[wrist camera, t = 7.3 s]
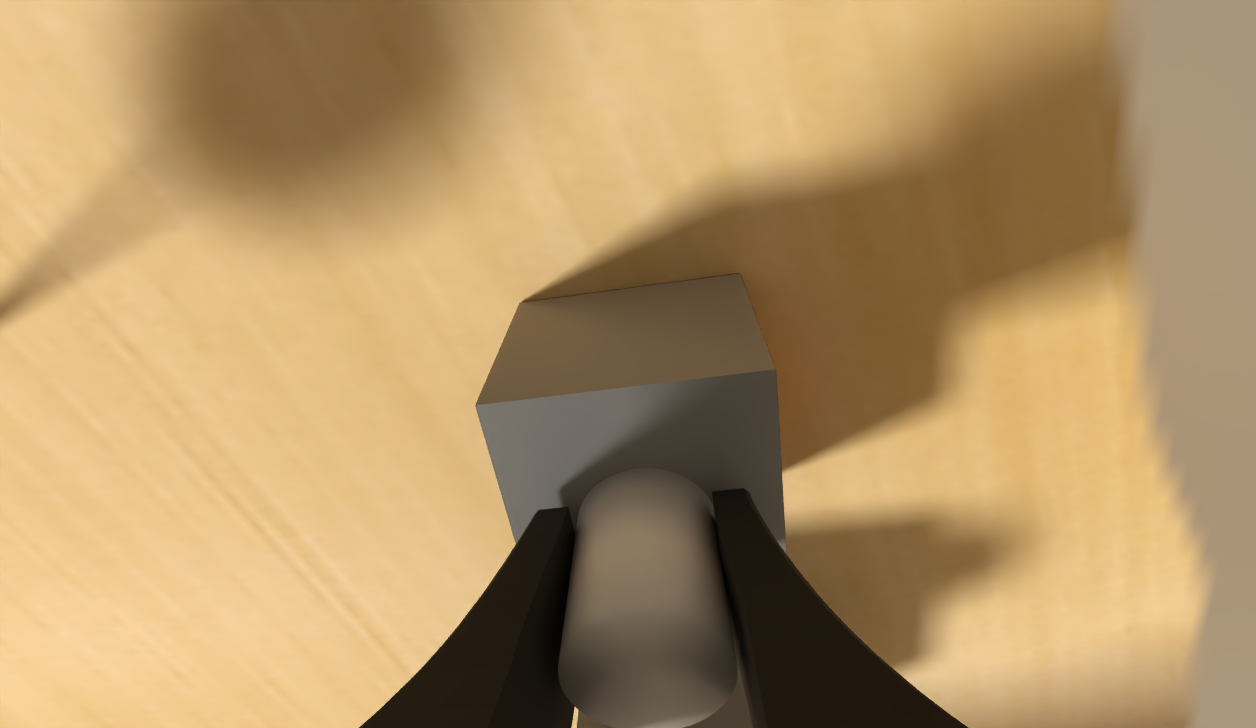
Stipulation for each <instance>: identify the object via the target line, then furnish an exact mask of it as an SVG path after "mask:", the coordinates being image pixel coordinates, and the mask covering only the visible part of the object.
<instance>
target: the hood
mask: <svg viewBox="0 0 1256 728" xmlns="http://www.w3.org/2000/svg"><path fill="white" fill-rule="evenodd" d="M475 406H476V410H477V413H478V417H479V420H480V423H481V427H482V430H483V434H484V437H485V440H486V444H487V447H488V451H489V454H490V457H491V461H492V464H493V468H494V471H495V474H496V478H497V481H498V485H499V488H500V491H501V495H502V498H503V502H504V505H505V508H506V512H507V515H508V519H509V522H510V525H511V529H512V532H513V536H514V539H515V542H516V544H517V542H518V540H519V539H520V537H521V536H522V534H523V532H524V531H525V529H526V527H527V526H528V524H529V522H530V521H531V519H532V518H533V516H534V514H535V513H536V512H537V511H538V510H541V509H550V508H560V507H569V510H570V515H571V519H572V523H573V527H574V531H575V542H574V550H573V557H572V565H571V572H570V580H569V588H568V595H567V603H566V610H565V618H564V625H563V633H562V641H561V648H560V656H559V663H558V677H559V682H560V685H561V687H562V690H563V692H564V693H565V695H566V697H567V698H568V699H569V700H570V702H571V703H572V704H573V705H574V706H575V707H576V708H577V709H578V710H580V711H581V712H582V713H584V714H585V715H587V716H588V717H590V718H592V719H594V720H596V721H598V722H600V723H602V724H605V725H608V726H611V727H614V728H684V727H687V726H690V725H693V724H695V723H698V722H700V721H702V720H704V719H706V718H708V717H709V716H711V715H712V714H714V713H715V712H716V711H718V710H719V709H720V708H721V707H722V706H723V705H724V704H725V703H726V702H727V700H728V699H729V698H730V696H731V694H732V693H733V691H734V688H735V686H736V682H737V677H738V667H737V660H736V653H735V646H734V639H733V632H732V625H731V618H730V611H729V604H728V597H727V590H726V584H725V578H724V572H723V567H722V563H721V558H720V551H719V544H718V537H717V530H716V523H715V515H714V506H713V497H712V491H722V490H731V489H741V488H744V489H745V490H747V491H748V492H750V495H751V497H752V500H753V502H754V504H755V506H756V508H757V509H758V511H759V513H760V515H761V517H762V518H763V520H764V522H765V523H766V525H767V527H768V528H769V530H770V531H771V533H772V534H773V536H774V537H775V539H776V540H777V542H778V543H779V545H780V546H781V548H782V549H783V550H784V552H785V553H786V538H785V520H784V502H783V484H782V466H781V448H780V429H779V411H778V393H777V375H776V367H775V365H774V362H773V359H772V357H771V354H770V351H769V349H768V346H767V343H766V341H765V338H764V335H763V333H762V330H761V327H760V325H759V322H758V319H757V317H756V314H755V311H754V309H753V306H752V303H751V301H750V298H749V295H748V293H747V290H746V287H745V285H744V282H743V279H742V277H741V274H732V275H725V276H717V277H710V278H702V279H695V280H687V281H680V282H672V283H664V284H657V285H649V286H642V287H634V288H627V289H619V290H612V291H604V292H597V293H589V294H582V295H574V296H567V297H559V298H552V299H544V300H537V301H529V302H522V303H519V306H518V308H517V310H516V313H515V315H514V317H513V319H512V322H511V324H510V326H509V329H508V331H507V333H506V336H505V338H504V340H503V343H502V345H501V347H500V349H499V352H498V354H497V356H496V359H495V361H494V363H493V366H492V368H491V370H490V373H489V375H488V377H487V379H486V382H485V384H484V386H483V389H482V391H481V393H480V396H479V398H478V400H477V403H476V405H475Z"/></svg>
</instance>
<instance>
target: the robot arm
mask: <svg viewBox="0 0 1256 728" xmlns="http://www.w3.org/2000/svg"><path fill="white" fill-rule="evenodd" d="M712 497H713V506H714V515H715V523H716V530H717V537H718V544H719V551H720V558H721V563H722V567H723V572H724V578H725V584H726V590H727V597H728V604H729V611H730V618H731V625H732V632H733V639H734V646H735V653H736V658H737V662H738V666H739V671H740V675H741V679H742V683H743V688H744V692H745V696H746V700H747V704H748V709H749V713H750V717H751V721H752V726H753V728H968V727H967V726H965V725H964V724H962V723H961V722H960V721H958V720H957V719H955V718H954V717H953V716H951V715H950V714H949V713H947V712H946V711H945V710H943V709H942V708H941V707H939V706H938V705H937V704H935V703H934V702H933V701H932V700H930V699H929V698H928V697H926V696H925V695H924V694H922V693H921V692H920V691H919V690H917V689H916V688H915V687H914V686H913V685H912V684H910V683H909V682H908V681H907V680H906V679H904V678H903V677H902V676H901V675H900V674H899V673H897V672H896V671H895V670H894V669H893V668H892V667H890V666H889V665H888V664H887V663H886V662H884V661H883V660H882V659H881V658H880V657H879V656H877V655H876V654H875V653H874V652H873V651H872V650H871V649H870V648H869V647H868V646H867V645H866V644H865V643H864V642H863V641H862V640H861V639H859V638H858V637H857V636H856V635H855V634H854V633H853V632H852V631H851V630H850V629H849V628H848V627H847V626H846V625H845V624H844V622H843V621H842V620H841V619H840V618H839V617H838V616H837V615H836V614H835V613H834V612H833V611H832V610H831V609H830V608H829V607H828V605H827V604H826V603H825V602H824V601H823V600H822V599H821V597H820V596H819V595H818V594H817V593H816V592H815V590H814V589H813V588H812V587H811V586H810V584H809V583H808V582H807V581H806V580H805V578H804V577H803V576H802V574H801V573H800V572H799V571H798V569H797V568H796V567H795V565H794V564H793V563H792V561H791V560H790V559H789V557H788V556H787V554H786V553H785V552H784V550H783V549H782V548H781V546H780V545H779V543H778V542H777V540H776V539H775V537H774V536H773V534H772V533H771V531H770V530H769V528H768V527H767V525H766V523H765V522H764V520H763V518H762V517H761V515H760V513H759V511H758V509H757V508H756V506H755V504H754V502H753V500H752V497H751V495H750V492H748V491H747V490H745V489H744V488H741V489H731V490H722V491H712ZM574 542H575V531H574V527H573V523H572V519H571V515H570V510H569V507H560V508H550V509H541V510H538V511H537V512H536V513H535V514H534V516H533V518H532V519H531V521H530V522H529V524H528V526H527V527H526V529H525V531H524V532H523V534H522V536H521V537H520V539H519V540H518V542H517V544H516V545H515V547H514V548H513V550H512V551H511V553H510V554H509V556H508V558H507V559H506V561H505V562H504V564H503V565H502V567H501V568H500V569H499V571H498V572H497V574H496V575H495V577H494V578H493V580H492V581H491V583H490V584H489V586H488V587H487V588H486V590H485V591H484V593H483V594H482V595H481V597H480V598H479V599H478V601H477V602H476V603H475V605H474V606H473V607H472V609H471V610H470V611H469V613H468V614H467V615H466V616H465V618H464V619H463V620H462V622H461V623H460V624H459V626H458V627H457V628H456V629H455V631H454V632H453V633H452V634H451V635H450V637H449V638H448V639H447V640H446V641H445V643H444V644H443V645H442V646H441V647H440V648H439V649H438V651H437V652H436V653H435V654H434V655H433V656H432V657H431V658H430V659H429V661H428V662H427V663H426V664H425V665H424V666H423V667H422V668H421V669H420V670H419V671H418V672H417V673H416V674H415V675H414V677H413V678H412V679H411V680H410V681H409V682H408V683H406V684H405V685H404V686H403V687H402V688H401V689H400V690H399V691H398V692H397V693H396V694H395V695H394V696H393V697H392V698H391V699H390V700H389V701H388V702H387V703H386V704H385V705H384V706H383V707H382V708H381V709H380V710H379V711H377V712H376V713H375V714H374V715H373V716H372V717H371V718H370V719H368V720H367V721H366V722H365V723H364V724H363V725H362V726H360V727H359V728H571V726H572V720H573V713H574V707H575V706H574V705H573V704H572V703H571V702H570V700H569V699H568V698H567V697H566V695H565V693H564V692H563V690H562V687H561V685H560V682H559V677H558V663H559V656H560V648H561V641H562V633H563V625H564V618H565V610H566V603H567V595H568V588H569V580H570V572H571V565H572V557H573V550H574Z"/></svg>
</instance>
